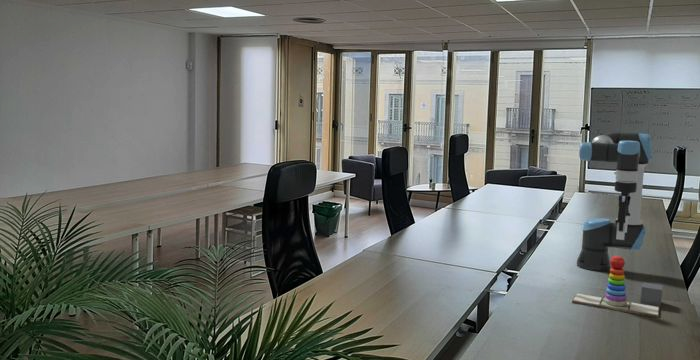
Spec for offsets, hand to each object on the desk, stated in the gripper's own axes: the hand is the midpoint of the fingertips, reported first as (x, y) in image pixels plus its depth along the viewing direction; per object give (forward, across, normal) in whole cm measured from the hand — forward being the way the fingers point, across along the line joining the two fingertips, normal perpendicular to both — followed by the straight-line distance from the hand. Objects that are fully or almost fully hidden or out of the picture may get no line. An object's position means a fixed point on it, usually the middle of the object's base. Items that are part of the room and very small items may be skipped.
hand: (621, 235), depth 224 cm
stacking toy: (+26, +4, 0) cm, 26 cm away
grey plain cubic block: (+27, -7, +12) cm, 30 cm away
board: (+27, +4, 0) cm, 27 cm away
